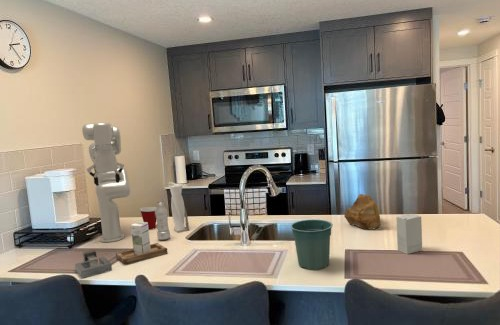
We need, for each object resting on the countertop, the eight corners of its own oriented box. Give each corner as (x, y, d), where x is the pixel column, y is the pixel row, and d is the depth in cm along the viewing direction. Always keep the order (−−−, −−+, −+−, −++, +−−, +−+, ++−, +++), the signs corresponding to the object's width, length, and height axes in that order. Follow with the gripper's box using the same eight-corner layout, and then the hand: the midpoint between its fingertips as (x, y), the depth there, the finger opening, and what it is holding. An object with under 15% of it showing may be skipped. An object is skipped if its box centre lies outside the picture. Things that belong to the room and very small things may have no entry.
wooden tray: (116, 258, 176) (115, 253, 176) (157, 247, 187) (157, 242, 187) (124, 265, 166) (124, 259, 166) (167, 253, 178) (167, 248, 177)
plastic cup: (157, 229, 221) (155, 209, 220) (139, 231, 221) (137, 210, 220) (162, 225, 232) (160, 205, 231) (144, 226, 232) (142, 206, 231)
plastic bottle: (167, 241, 197) (164, 203, 195) (155, 241, 198) (151, 203, 196) (172, 237, 203) (169, 200, 201) (160, 237, 205) (157, 201, 203)
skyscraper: (175, 233, 212) (170, 183, 209) (171, 230, 219) (166, 181, 216) (189, 230, 215) (185, 181, 213) (185, 227, 223) (180, 180, 220)
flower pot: (325, 275, 140) (323, 232, 139) (285, 268, 149) (283, 228, 147) (340, 260, 154) (338, 221, 153) (303, 255, 163) (300, 218, 161)
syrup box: (151, 252, 178) (148, 221, 177) (143, 256, 173) (140, 225, 172) (141, 251, 181) (138, 221, 179) (133, 255, 175) (130, 224, 174)
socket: (75, 270, 164) (74, 263, 164) (104, 263, 171) (103, 256, 171) (81, 278, 154) (80, 271, 154) (112, 270, 161) (111, 263, 161)
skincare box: (412, 247, 163) (411, 213, 162) (423, 251, 157) (422, 215, 156) (396, 250, 160) (395, 216, 159) (407, 254, 155) (406, 219, 153)
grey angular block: (83, 262, 173) (82, 252, 172) (95, 259, 176) (94, 250, 175) (88, 267, 166) (87, 257, 165) (100, 264, 168) (99, 254, 168)
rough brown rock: (342, 221, 214) (339, 195, 212) (372, 217, 212) (369, 191, 210) (350, 235, 191) (346, 206, 189) (384, 230, 189) (380, 201, 187)
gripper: (86, 150, 175) (90, 187, 177) (124, 147, 185) (127, 181, 187) (82, 150, 181) (86, 185, 183) (119, 147, 191) (123, 180, 193)
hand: (107, 183), depth 185 cm, fingers open, 9 cm apart
